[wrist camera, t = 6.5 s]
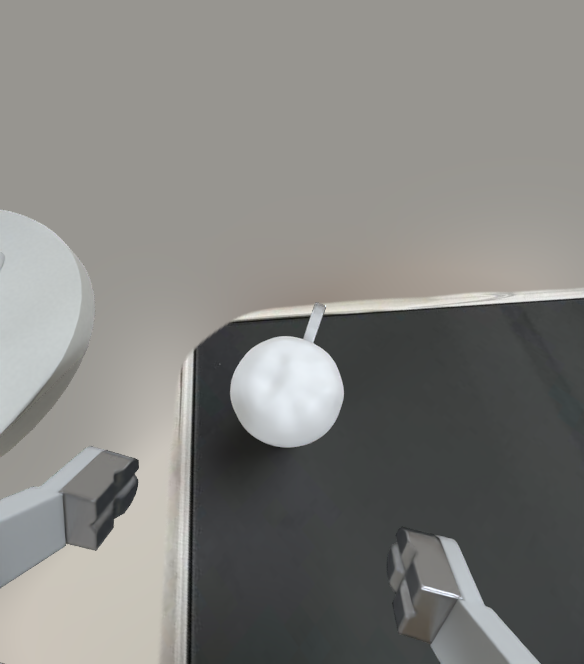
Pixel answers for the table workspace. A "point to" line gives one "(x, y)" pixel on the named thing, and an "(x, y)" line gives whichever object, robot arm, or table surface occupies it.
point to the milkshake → (288, 389)
